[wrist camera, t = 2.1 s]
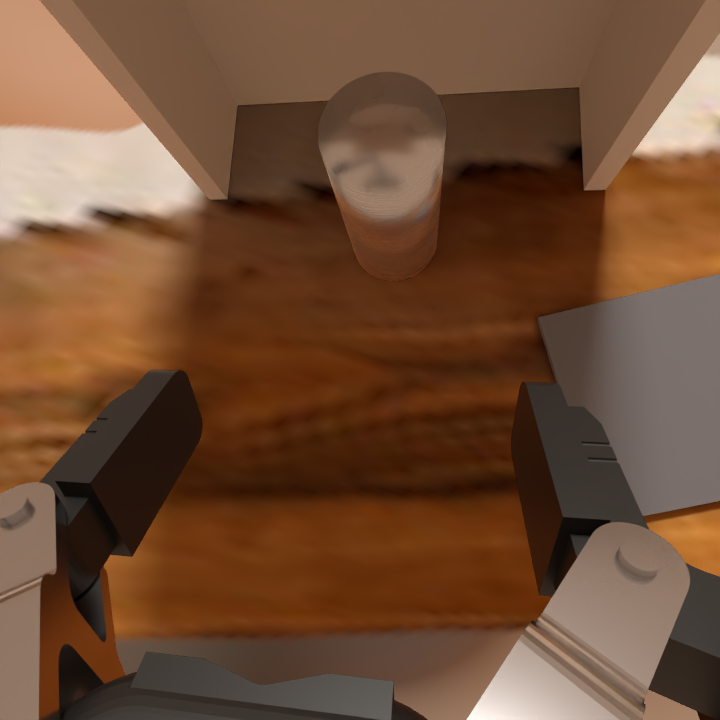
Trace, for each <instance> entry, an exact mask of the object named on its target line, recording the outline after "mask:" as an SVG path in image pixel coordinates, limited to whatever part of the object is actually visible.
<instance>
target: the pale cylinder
mask: <svg viewBox="0 0 720 720" xmlns="http://www.w3.org/2000/svg"><path fill="white" fill-rule="evenodd" d="M446 131H447V118H446V113H445V109H444V107H443V104H442V102H441V100H440V99H439V97H438V96H437V94H436V93H435V92H434V91H433V90H432V89H431V88H430V87H429V86H428V85H427V84H425V83H424V82H423V81H421V80H419V79H417V78H415V77H413V76H410V75H407V74H403V73H398V72H378V73H372V74H368V75H365V76H362V77H359V78H357V79H355V80H353V81H351V82H349V83H348V84H346V85H345V86H343V87H342V88H341V89H340V90H338V91H337V92H336V93H335V94H334V95H333V96H332V98H331V99H330V100H329V102H328V103H327V105H326V106H325V108H324V110H323V112H322V114H321V117H320V120H319V124H318V131H317V139H318V146H319V149H320V153H321V156H322V158H323V161H324V164H325V167H326V170H327V173H328V176H329V179H330V182H331V185H332V188H333V191H334V194H335V197H336V200H337V203H338V206H339V209H340V212H341V215H342V218H343V221H344V223H345V226H346V229H347V232H348V235H349V238H350V241H351V244H352V247H353V250H354V253H355V256H356V258H357V260H358V262H359V264H360V265H361V266H362V268H363V269H364V270H365V271H366V272H368V273H369V274H370V275H372V276H374V277H376V278H378V279H382V280H386V281H401V280H405V279H408V278H411V277H413V276H415V275H417V274H418V273H420V272H421V271H422V270H424V269H425V268H426V267H427V266H428V264H429V263H430V262H431V260H432V258H433V256H434V254H435V251H436V247H437V237H438V225H439V213H440V201H441V190H442V178H443V166H444V154H445V142H446Z"/></svg>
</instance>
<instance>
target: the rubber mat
mask: <svg viewBox="0 0 720 720" xmlns="http://www.w3.org/2000/svg"><path fill="white" fill-rule="evenodd" d="M537 323H538V326H539V329H540V332H541V335H542V339H543V342H544V345H545V348H546V352H547V355H548V358H549V361H550V365H551V368H552V371H553V374H554V377H555V381H556V383H558V384H559V385H560V387H561V389H562V392H563V394H564V397H565V400H566V402H567V405H568V406H577V407H585V408H586V409H587V410H588V411H589V412H590V413H591V414H592V415H593V416H594V417H595V418H596V419H597V420H598V421H599V422H600V423H601V424H602V426H603V428H604V431H605V433H606V435H607V437H608V440H609V442H610V447H612V448H613V451H614V453H615V455H616V457H617V463H619V464H620V466H621V469H622V471H623V473H624V475H625V477H626V480H627V482H628V484H629V486H630V489H631V491H632V493H633V495H634V498H635V500H636V502H637V504H638V507H639V509H640V511H641V513H642V515H643V516H647V515H652V514H657V513H662V512H667V511H672V510H677V509H682V508H687V507H692V506H697V505H702V504H707V503H712V502H717V501H720V274H717V275H713V276H709V277H705V278H700V279H696V280H692V281H688V282H684V283H679V284H675V285H671V286H667V287H663V288H658V289H654V290H650V291H646V292H642V293H638V294H633V295H629V296H625V297H621V298H617V299H612V300H608V301H604V302H600V303H596V304H592V305H587V306H583V307H579V308H575V309H571V310H566V311H562V312H558V313H554V314H550V315H545V316H541V317H538V318H537Z"/></svg>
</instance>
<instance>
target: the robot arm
mask: <svg viewBox="0 0 720 720" xmlns="http://www.w3.org/2000/svg"><path fill="white" fill-rule="evenodd" d="M85 431H86V433H85V434H82V435H81V436H80V437H79V438H78V439H77V441H76V442H75V443H74V444H73V445H72V446H71V447H70V448H69V450H68V451H67V452H66V453H65V454H64V455H63V456H62V457H61V459H60V460H59V461H58V462H57V463H56V464H55V465H54V466H53V468H52V469H51V470H50V471H49V472H48V473H47V474H46V475H45V477H44V478H43V479H42V480H41V481H40V482H39V483H37V482H35V483H27V484H23V485H19V486H16V487H14V488H11V489H9V490H7V491H5V492H3V493H1V494H0V720H427V719H426V718H425V717H424V716H422V715H420V714H419V713H417V712H416V711H414V710H412V709H411V708H410V707H408V706H406V705H403V704H402V703H399V702H397V701H395V700H394V684H393V681H387V680H379V679H370V678H362V677H353V676H345V675H336V674H324V675H319V676H313V677H308V678H302V679H297V680H291V681H286V682H279V683H274V684H268V685H258V684H255V683H253V682H251V681H249V680H247V679H245V678H242V677H240V676H238V675H236V674H234V673H232V672H230V671H228V670H226V669H224V668H222V667H220V666H218V665H216V664H214V663H212V662H210V661H208V660H206V659H202V658H194V657H186V656H178V655H169V654H161V653H152V652H146V654H145V656H144V658H143V660H142V662H141V664H140V667H139V669H138V671H137V672H134V673H131V674H128V675H125V672H124V670H123V667H122V665H121V663H120V660H119V657H118V653H117V649H116V642H115V634H114V625H113V617H112V609H111V601H110V592H109V584H108V576H107V571H106V570H105V568H104V564H105V562H106V561H107V559H108V558H109V556H110V555H120V556H131V557H132V556H133V554H134V553H135V551H136V549H137V547H138V546H139V544H140V542H141V541H142V539H143V537H144V535H145V534H146V532H147V530H148V528H149V527H150V525H151V523H152V522H153V520H154V518H155V516H156V515H157V513H158V511H159V510H160V508H161V506H162V504H163V503H164V501H165V499H166V497H167V496H168V494H169V492H170V491H171V489H172V487H173V485H174V484H175V482H176V480H177V478H178V477H179V475H180V473H181V472H182V470H183V468H184V466H185V465H186V463H187V461H188V459H189V458H190V456H191V454H192V453H193V451H194V449H195V447H196V446H197V444H198V442H199V440H200V437H201V433H202V418H201V414H200V411H199V408H198V405H197V402H196V399H195V396H194V393H193V390H192V387H191V384H190V381H189V378H188V376H187V374H186V373H185V372H184V371H180V370H150V371H149V372H148V373H147V374H146V375H145V376H144V377H143V378H142V379H141V381H140V382H139V383H138V384H137V385H136V386H135V388H134V389H130V390H128V391H127V392H125V393H124V394H122V395H121V396H119V397H118V398H116V399H115V400H113V401H112V402H110V403H109V404H108V406H107V407H106V408H105V409H104V410H103V411H102V412H101V413H100V415H99V416H98V417H97V421H93V422H92V424H91V425H90V426H89V427H88V428H87V429H86V430H85ZM511 451H512V460H513V465H514V470H515V475H516V480H517V486H518V491H519V496H520V501H521V506H522V511H523V516H524V521H525V526H526V531H527V536H528V542H529V547H530V552H531V557H532V562H533V567H534V572H535V577H536V582H537V587H538V592H539V595H544V596H553V597H552V598H551V600H550V601H549V603H548V605H547V606H546V608H545V609H544V611H543V613H542V614H541V616H540V617H539V618H538V620H537V621H536V622H534V621H532V622H531V623H530V624H529V625H528V626H527V628H526V629H525V630H524V632H523V633H522V635H521V636H520V638H519V639H518V641H517V642H516V644H515V645H514V647H513V648H512V650H511V652H510V653H509V655H508V656H507V658H506V659H505V661H504V663H503V664H502V666H501V667H500V669H499V670H498V672H497V674H496V675H495V676H494V678H493V680H492V681H491V683H490V685H489V686H488V687H487V689H486V690H485V692H484V694H483V695H482V697H481V698H480V700H479V701H478V703H477V705H476V706H475V707H474V709H473V711H472V712H471V714H470V715H469V717H468V718H467V720H642V718H643V715H644V711H645V704H644V699H645V696H646V693H647V691H648V689H649V690H651V691H654V692H656V693H658V694H660V695H662V696H665V697H667V698H669V699H671V700H674V701H676V702H678V703H680V704H682V705H685V706H687V707H689V708H691V709H694V710H696V711H697V713H698V716H699V719H700V720H720V577H719V576H716V575H713V574H710V573H707V572H704V571H702V570H699V569H697V568H695V567H693V566H691V565H689V564H687V563H685V561H684V560H683V558H682V557H681V555H680V554H679V553H678V552H677V550H676V549H675V548H674V547H673V546H672V545H671V544H670V543H669V542H667V541H666V540H665V539H664V538H662V537H661V536H659V535H658V534H656V533H654V532H653V531H651V530H649V528H648V526H647V524H646V522H645V520H644V518H643V515H642V513H641V511H640V509H639V507H638V504H637V502H636V500H635V498H634V495H633V493H632V491H631V489H630V486H629V484H628V482H627V480H626V477H625V475H624V473H623V471H622V469H621V466H620V464H619V463H617V457H616V455H615V453H614V451H613V448H612V447H610V442H609V440H608V437H607V435H606V433H605V431H604V428H603V426H602V424H601V423H600V422H599V421H598V420H597V419H596V418H595V417H594V416H593V415H592V414H591V413H590V412H589V411H588V410H587V409H586V408H585V407H577V406H568V405H567V402H566V400H565V397H564V394H563V392H562V389H561V387H560V385H559V384H558V383H547V382H522V384H521V386H520V390H519V396H518V401H517V407H516V413H515V418H514V424H513V429H512V438H511Z"/></svg>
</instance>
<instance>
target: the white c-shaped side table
mask: <svg viewBox="0 0 720 720" xmlns="http://www.w3.org/2000/svg"><path fill="white" fill-rule="evenodd" d="M40 1H41V2H42V4H43V5H44V6H45V7H46V8H47V10H48V11H49V12H50V13H51V14H52V15H53V16H54V18H55V19H56V20H57V21H58V22H59V24H60V25H61V26H62V27H63V28H64V29H65V31H66V32H67V33H68V34H69V35H70V37H71V38H72V39H73V40H74V41H75V42H76V44H78V46H79V47H80V48H81V49H82V51H83V52H84V53H85V54H86V55H87V56H88V58H89V59H90V60H91V61H92V62H93V63H94V65H95V66H96V67H97V68H98V69H99V70H100V72H101V73H102V74H103V75H104V76H105V77H106V79H107V80H108V81H109V82H110V83H111V85H112V86H113V87H114V88H115V89H116V90H117V91H118V93H119V94H120V95H121V96H122V97H123V98H124V100H125V101H126V102H127V103H128V104H129V106H130V107H131V108H132V109H133V110H134V111H135V113H136V114H137V115H138V116H139V117H140V119H141V120H142V121H143V122H144V123H145V124H146V126H147V127H148V128H149V129H150V130H151V131H152V133H153V134H154V135H155V136H156V137H157V138H158V140H159V141H160V142H161V143H162V144H163V145H164V147H165V148H166V149H167V150H168V151H169V152H170V154H171V155H172V156H173V157H174V158H175V160H176V161H177V162H178V163H179V164H180V165H181V167H182V168H183V169H184V170H185V171H186V172H187V174H188V175H189V176H190V177H191V178H192V179H193V181H194V182H195V183H196V184H197V185H198V186H199V188H200V189H201V190H202V191H203V192H204V194H205V195H206V196H207V197H208V198H209V199H210V200H215V199H228V190H229V180H230V171H231V162H232V152H233V143H234V134H235V124H236V115H237V106H238V105H253V104H272V103H291V102H310V101H328V100H330V99H331V98H332V96H333V95H334V94H335V93H336V92H337V91H338V90H340V89H341V88H342V87H343V86H345V85H346V84H348V83H349V82H351V81H353V80H355V79H357V78H359V77H362V76H365V75H368V74H372V73H378V72H398V73H403V74H407V75H410V76H413V77H415V78H417V79H419V80H421V81H423V82H424V83H425V84H427V85H428V86H429V87H430V88H431V89H432V90H433V91H434V92H435V93H436V94H437V95H441V94H460V93H479V92H498V91H517V90H535V89H554V88H573V87H579V94H580V117H581V140H582V164H583V187H584V190H606V189H607V187H608V186H609V185H610V183H611V182H612V181H613V179H614V178H615V176H616V175H617V174H618V172H619V171H620V170H621V168H622V167H623V165H624V164H625V163H626V161H627V160H628V159H629V157H630V156H631V154H632V153H633V152H634V150H635V149H636V148H637V146H638V145H639V143H640V142H641V141H642V139H643V138H644V137H645V135H646V134H647V132H648V131H649V130H650V128H651V127H652V126H653V124H654V123H655V121H656V120H657V119H658V117H659V116H660V115H661V113H662V112H663V110H664V109H665V108H666V106H667V105H668V104H669V102H670V101H671V99H672V98H673V97H674V95H675V94H676V93H677V91H678V90H679V88H680V87H681V86H682V84H683V83H684V82H685V80H686V79H687V77H688V76H689V75H690V73H691V72H692V71H693V69H694V68H695V66H696V65H697V64H698V62H699V61H700V59H701V58H702V57H703V55H704V54H705V53H706V51H707V50H708V48H709V47H710V46H711V44H712V43H713V42H714V40H715V39H716V37H717V36H718V35H719V33H720V0H40Z"/></svg>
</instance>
